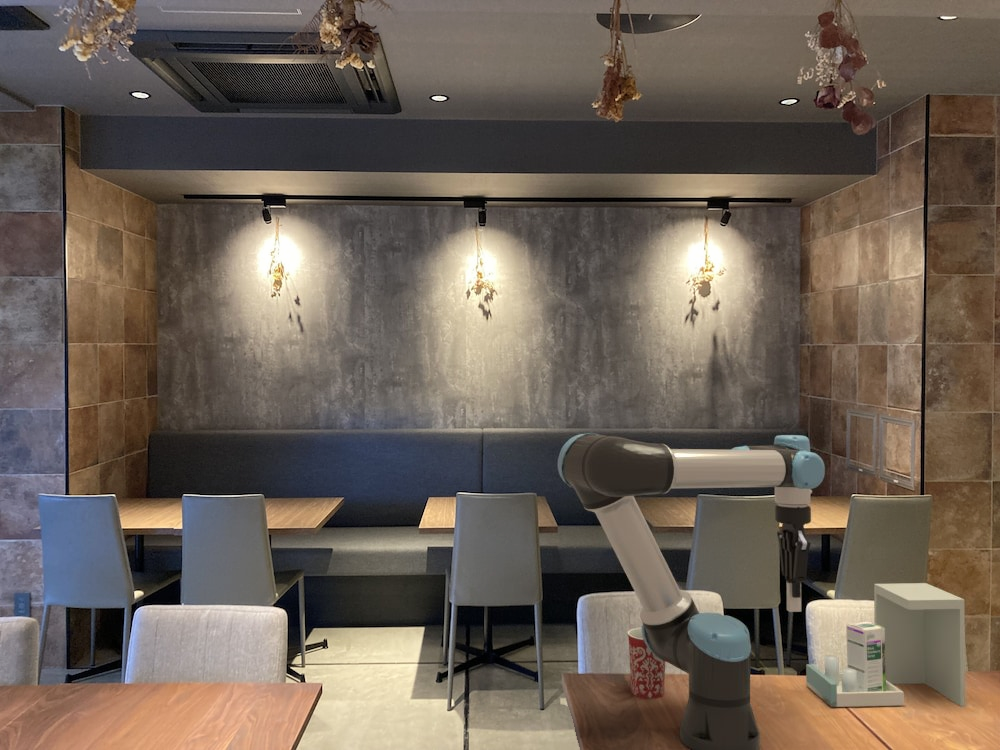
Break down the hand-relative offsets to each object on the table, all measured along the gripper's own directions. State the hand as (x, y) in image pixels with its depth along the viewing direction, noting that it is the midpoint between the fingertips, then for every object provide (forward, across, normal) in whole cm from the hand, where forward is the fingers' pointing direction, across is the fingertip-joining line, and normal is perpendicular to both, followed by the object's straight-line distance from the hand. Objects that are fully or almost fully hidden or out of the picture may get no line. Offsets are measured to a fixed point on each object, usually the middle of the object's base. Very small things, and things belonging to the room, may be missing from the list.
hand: (794, 610), depth 187 cm
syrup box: (+18, 0, -16) cm, 24 cm away
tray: (+19, 0, -13) cm, 23 cm away
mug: (+19, +6, +32) cm, 38 cm away
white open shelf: (+19, 0, -28) cm, 34 cm away
